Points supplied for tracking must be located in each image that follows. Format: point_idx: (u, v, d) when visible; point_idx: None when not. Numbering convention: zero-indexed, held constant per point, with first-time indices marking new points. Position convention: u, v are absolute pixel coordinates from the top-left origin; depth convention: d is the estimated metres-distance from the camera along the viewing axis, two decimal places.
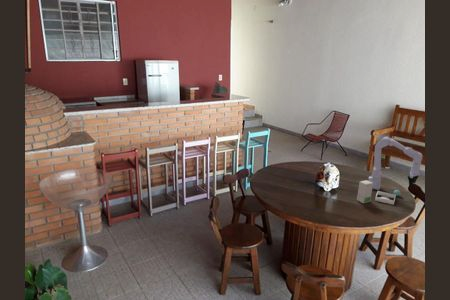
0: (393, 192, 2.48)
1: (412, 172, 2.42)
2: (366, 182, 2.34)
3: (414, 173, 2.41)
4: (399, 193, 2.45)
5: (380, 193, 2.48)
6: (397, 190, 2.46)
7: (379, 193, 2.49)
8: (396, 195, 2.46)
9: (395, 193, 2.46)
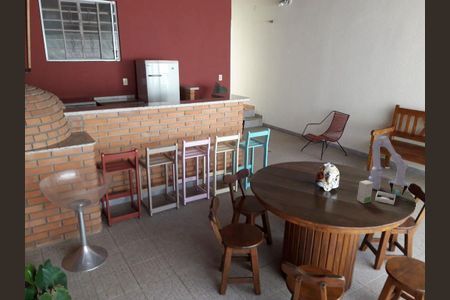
0: (393, 192, 2.48)
1: None
2: (366, 182, 2.34)
3: (395, 181, 2.45)
4: (399, 193, 2.45)
5: (380, 193, 2.48)
6: (397, 190, 2.46)
7: (379, 193, 2.49)
8: (396, 195, 2.46)
9: (395, 193, 2.46)
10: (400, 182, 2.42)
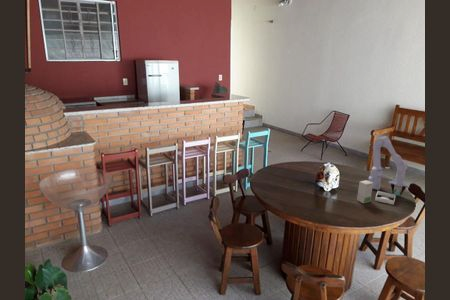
0: (393, 192, 2.48)
1: None
2: (366, 182, 2.34)
3: (395, 181, 2.46)
4: (399, 193, 2.45)
5: (380, 193, 2.48)
6: (397, 190, 2.46)
7: (379, 193, 2.49)
8: (396, 195, 2.46)
9: (395, 193, 2.46)
10: (400, 183, 2.42)
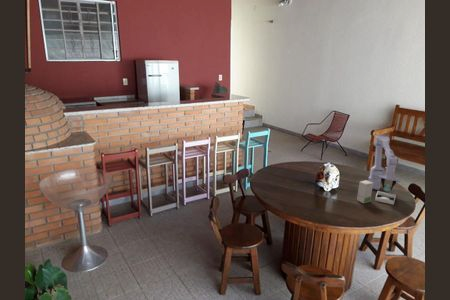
0: None
1: None
2: (366, 182, 2.34)
3: (385, 176, 2.37)
4: (389, 188, 2.37)
5: (380, 193, 2.48)
6: (387, 185, 2.38)
7: (379, 193, 2.49)
8: (386, 190, 2.38)
9: (385, 188, 2.38)
10: (390, 177, 2.34)
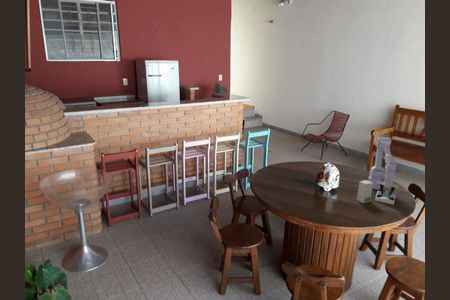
0: None
1: None
2: (366, 182, 2.34)
3: (384, 182, 2.39)
4: (388, 194, 2.38)
5: (380, 193, 2.48)
6: (386, 191, 2.40)
7: (379, 193, 2.49)
8: (385, 196, 2.39)
9: (384, 194, 2.39)
10: (389, 184, 2.35)
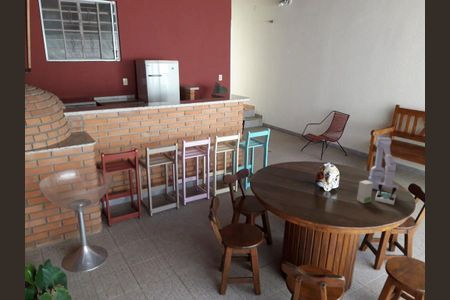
0: (382, 195, 2.42)
1: None
2: (366, 182, 2.34)
3: (383, 183, 2.39)
4: (388, 196, 2.39)
5: None
6: (385, 193, 2.40)
7: (379, 193, 2.49)
8: (385, 198, 2.40)
9: (384, 196, 2.40)
10: (389, 184, 2.35)
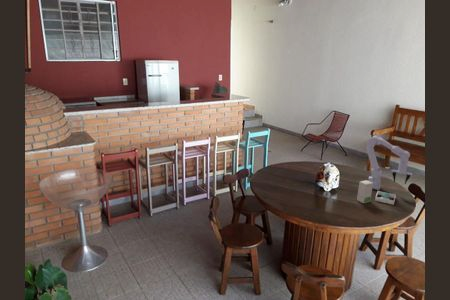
0: (382, 195, 2.42)
1: None
2: (366, 182, 2.34)
3: (398, 170, 2.47)
4: (387, 196, 2.39)
5: (380, 193, 2.48)
6: (385, 193, 2.40)
7: (379, 193, 2.49)
8: (385, 198, 2.40)
9: (383, 196, 2.40)
10: (403, 171, 2.43)
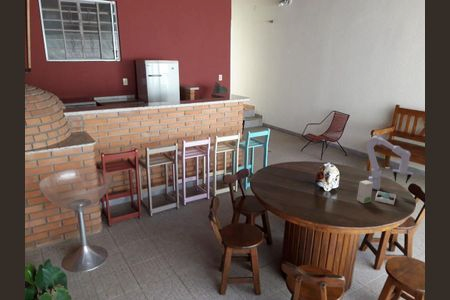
0: None
1: None
2: (366, 182, 2.34)
3: (398, 170, 2.48)
4: (387, 196, 2.39)
5: (380, 193, 2.48)
6: (385, 193, 2.40)
7: (379, 193, 2.49)
8: (385, 198, 2.40)
9: (383, 196, 2.40)
10: (404, 171, 2.44)
